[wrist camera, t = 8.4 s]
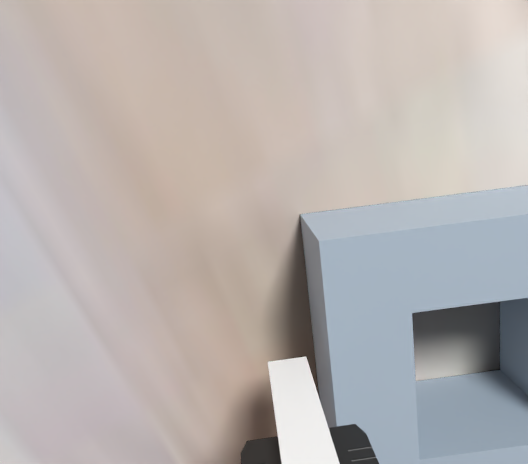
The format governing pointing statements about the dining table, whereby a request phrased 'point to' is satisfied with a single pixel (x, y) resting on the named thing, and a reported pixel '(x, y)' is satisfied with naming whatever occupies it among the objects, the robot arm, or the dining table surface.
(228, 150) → the dining table surface
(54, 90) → the dining table surface
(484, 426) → the socket block
